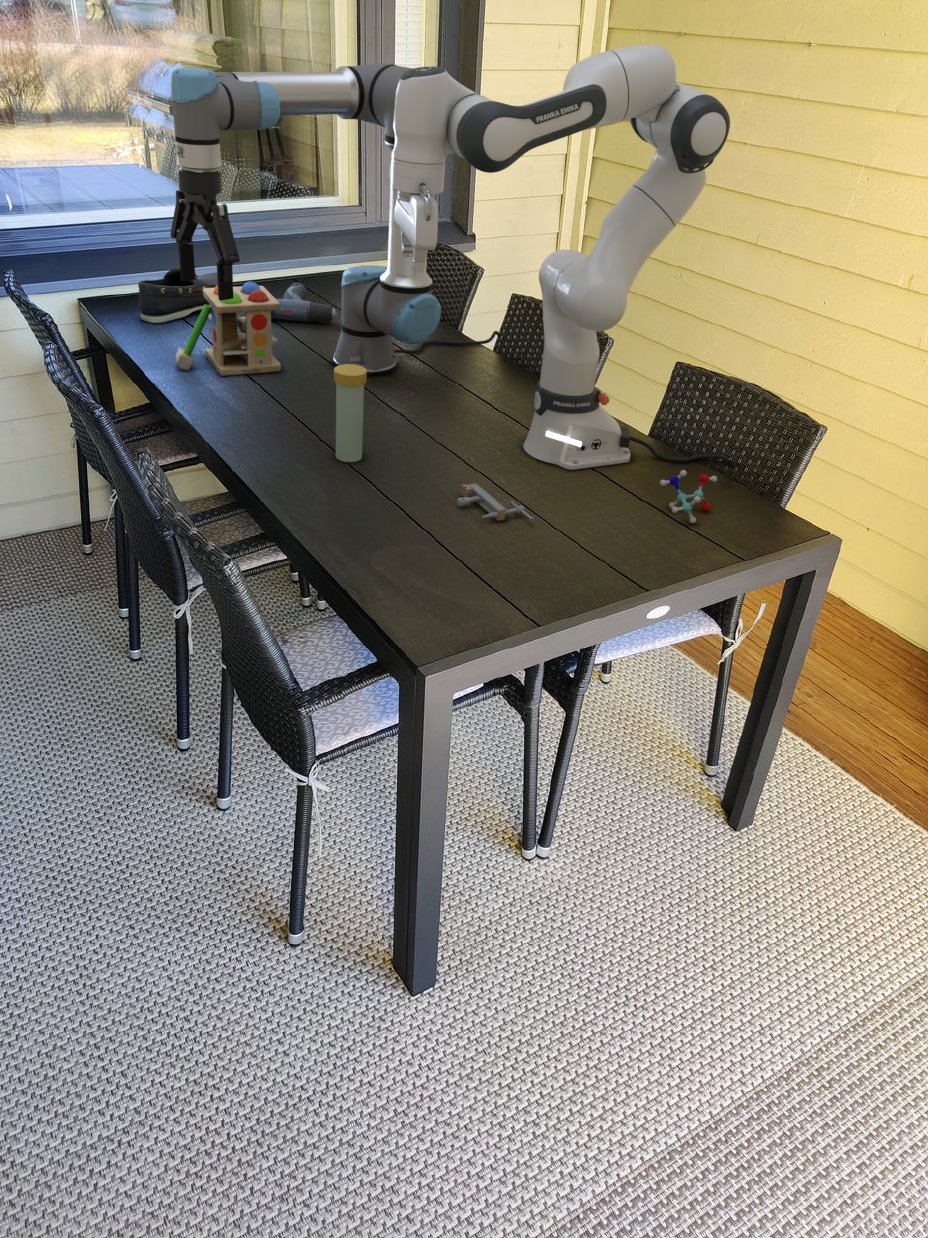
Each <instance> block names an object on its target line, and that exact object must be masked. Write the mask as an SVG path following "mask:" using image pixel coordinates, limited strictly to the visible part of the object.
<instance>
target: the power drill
mask: <svg viewBox="0 0 928 1238" xmlns="http://www.w3.org/2000/svg"><path fill="white" fill-rule="evenodd" d="M307 295H308V290H307V287H306V285H304V284H303V283H301V282H293V283H292V284H291V285H290V286H289V287H288V288H287V289H286V291H285V292H284V294H283V297H282V298H275V299H276V300H277V301H278V302H279V303H280V310H271V319H274V320H275V319H276V320H283V321H294V322H295V321H297V322H332V321H333V320H334V319H336V318H337V317H338V312H337V311H336V308H334V307H333V306H332V305H331V304H324V303H317V302H313V301H307V300H305V299H306V297H307Z"/></svg>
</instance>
